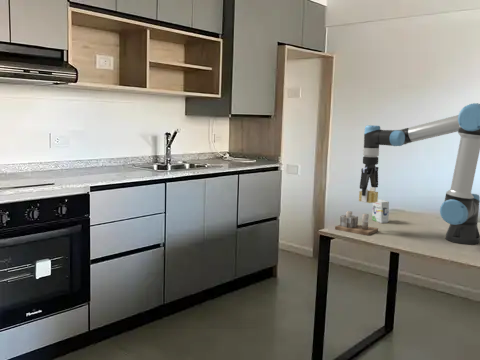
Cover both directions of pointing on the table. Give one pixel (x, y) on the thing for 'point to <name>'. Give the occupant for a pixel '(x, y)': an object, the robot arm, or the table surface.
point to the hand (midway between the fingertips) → (368, 200)
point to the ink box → (380, 211)
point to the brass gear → (370, 196)
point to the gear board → (355, 224)
